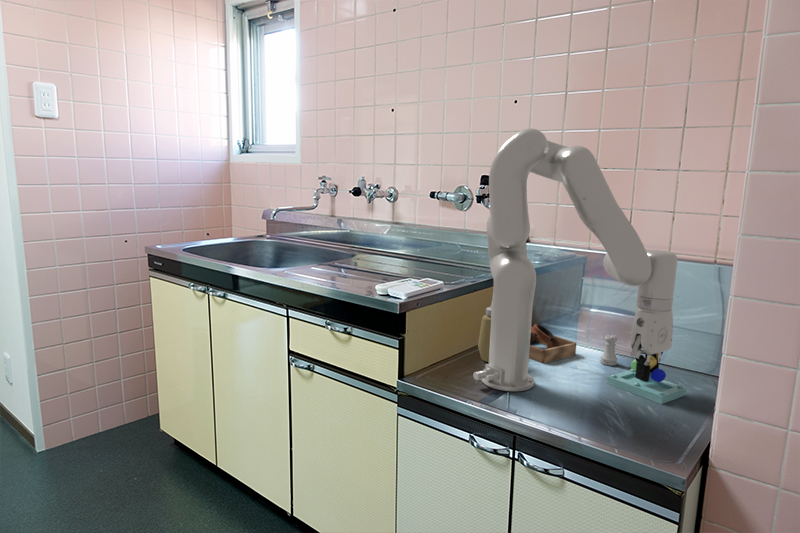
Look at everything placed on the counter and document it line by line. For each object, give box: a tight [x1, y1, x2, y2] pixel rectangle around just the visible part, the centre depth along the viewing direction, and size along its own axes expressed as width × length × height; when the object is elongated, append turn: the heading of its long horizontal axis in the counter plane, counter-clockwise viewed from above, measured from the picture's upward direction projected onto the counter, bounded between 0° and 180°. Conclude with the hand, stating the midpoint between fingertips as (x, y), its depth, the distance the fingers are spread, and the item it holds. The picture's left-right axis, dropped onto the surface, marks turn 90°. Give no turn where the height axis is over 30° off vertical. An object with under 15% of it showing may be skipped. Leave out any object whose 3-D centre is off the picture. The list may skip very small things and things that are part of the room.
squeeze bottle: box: [477, 302, 492, 363], centre depth 145 cm, size 8×8×18 cm
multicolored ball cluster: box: [630, 355, 667, 383], centre depth 128 cm, size 8×3×6 cm, turn 33°
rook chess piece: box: [599, 333, 618, 367], centre depth 146 cm, size 4×4×8 cm
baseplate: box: [607, 368, 687, 405], centre depth 129 cm, size 10×14×2 cm
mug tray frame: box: [529, 335, 577, 364], centre depth 155 cm, size 14×16×4 cm
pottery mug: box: [530, 323, 555, 349], centre depth 156 cm, size 12×10×8 cm
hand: (646, 377), depth 128 cm, fingers closed on multicolored ball cluster, 2 cm apart
